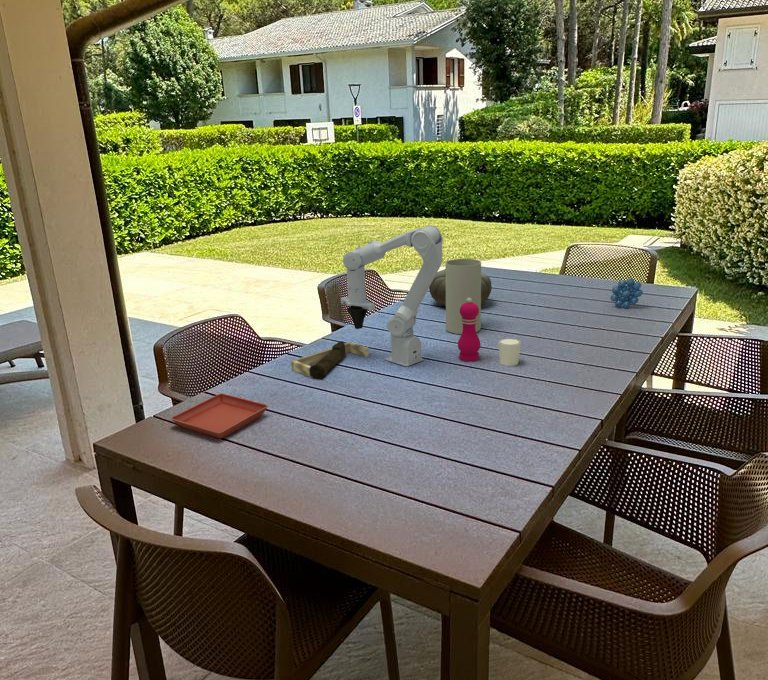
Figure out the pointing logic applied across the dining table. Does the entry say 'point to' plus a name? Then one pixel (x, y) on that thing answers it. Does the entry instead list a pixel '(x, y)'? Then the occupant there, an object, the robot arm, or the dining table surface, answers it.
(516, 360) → the cream cylinder
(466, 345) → the pepper mill
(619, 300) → the grapes
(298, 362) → the beige bent bracket
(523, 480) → the dining table surface
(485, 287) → the gourd
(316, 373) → the hand tool
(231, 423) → the plant saucer
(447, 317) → the cylinder vase
